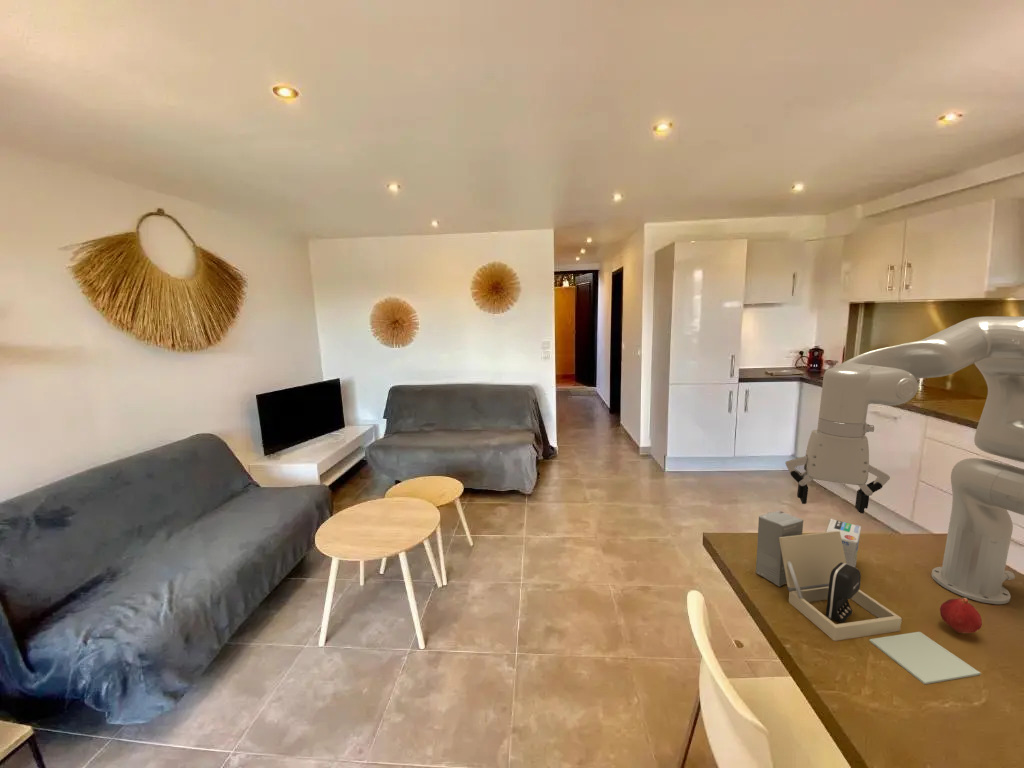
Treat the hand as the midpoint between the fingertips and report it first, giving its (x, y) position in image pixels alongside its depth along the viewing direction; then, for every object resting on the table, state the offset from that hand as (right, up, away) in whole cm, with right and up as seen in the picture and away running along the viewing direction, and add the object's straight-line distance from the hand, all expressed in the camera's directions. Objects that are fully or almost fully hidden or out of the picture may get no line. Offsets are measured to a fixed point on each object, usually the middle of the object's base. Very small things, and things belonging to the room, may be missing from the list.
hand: (830, 505), depth 86 cm
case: (+5, -25, +6) cm, 26 cm away
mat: (+12, -27, -8) cm, 30 cm away
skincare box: (0, -23, +18) cm, 29 cm away
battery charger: (+5, -26, +3) cm, 26 cm away
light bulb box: (+18, -22, +20) cm, 35 cm away
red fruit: (+25, -26, -2) cm, 36 cm away
